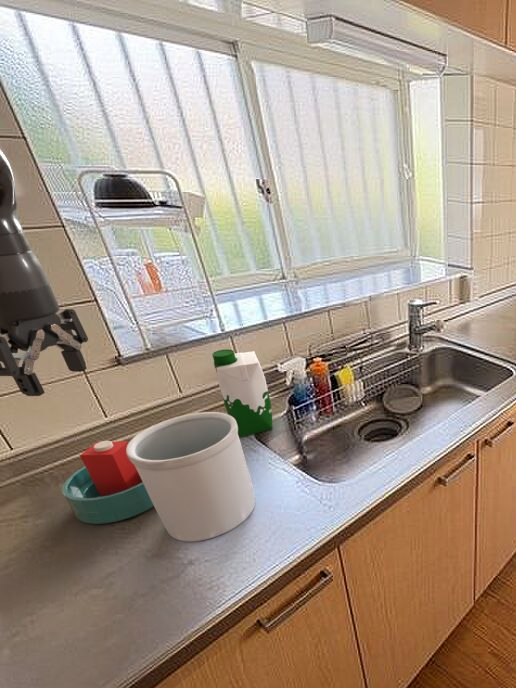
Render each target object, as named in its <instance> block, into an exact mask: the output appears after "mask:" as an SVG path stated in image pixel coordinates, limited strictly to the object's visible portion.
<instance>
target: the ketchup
mask: <svg viewBox="0 0 516 688" xmlns="http://www.w3.org/2000/svg"><path fill="white" fill-rule="evenodd" d="M128 443H129V441H128V440H121V441H111V440H102V441H95V443H94V444H93V445H91V446H90V447H88V448H87V449H86V450H85V451H83V452H81V453H80V455H79V456H80V459H81V461H82V463H83V465H84V467H85V466H86V468H87V470H88V472H89V474H90V476H91V478H92V480H93V482H94V484H95V486H96V488H97V490H98V492H99V494H100V495H101V497H103V496H108V495H112V494H115V493H119V492H122V491H125V490H127V489H129V488H132V487H134V486H136V485H138V484H140V483H142V480H141V477H140V475H139V473H138V471H137V469H136V467H135V465H134V464H133V463H132V462H131V461H130V460H129V458H128V456H127V453H126V448H127V445H128Z"/></svg>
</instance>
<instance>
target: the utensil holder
mask: <svg viewBox="0 0 516 688" xmlns="http://www.w3.org/2000/svg"><path fill="white" fill-rule="evenodd" d="M126 453H127V456H128V458H129V460H130V461H131V462H132V463H133V464H134V465H135V467H136V469H137V471H138V473H139V475H140V477H141V480H142V482H143V484H144V486H145V488H146V490H147V492H148V494H149V497H150V499H151V501H152V503H153V505H154V506H153V507H154V509H155V511H156V513H157V515H158V517H159V519H160V521H161V522H162V524H163V527H164V528H165V530H166V532H167V533H168V535H169V536H170V537H171V538H173V539H174V540H177V541H181V542H200V541H206V540H210V539H213V538H215V537H218V536H221V535H224V534H226V533H227V532H230V531H232V530H233V529H234V528H236V527H237V526H239V525H240V524H242V523H243V522H244V521H245V520H246V519H247V518H248V517H249V516H250V515H251V514H252V513H253V511H254V508H255V506H256V497H255V491H254V488H253V482H252V479H251V475H250V471H249V468H248V465H247V462H246V458H245V457H246V456H245V455H244V451H243V447H242V443H241V440H240V437H239V436H238V426H237V423H236V420H235V419H234V418H233V417H232V416H230V415H228V413H224V412H217V411H204V412H195V413H190V414H183V415H179V416H176V417H172V418H169V419H165V420H163V421H161V422H158V423H156V424H153V425H151V426H150V427H147V428H145V429H143V430H141V431H140V432H138V433H136V435H135V436H134V437H132V438H131V439H130V441H128V445H127V448H126Z"/></svg>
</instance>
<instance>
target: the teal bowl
mask: <svg viewBox="0 0 516 688" xmlns="http://www.w3.org/2000/svg"><path fill="white" fill-rule="evenodd" d="M62 485H63V486H62V490H61V492H62V494H63V496H64V498H65V499H66V502H67V503H68V506H70V508H71V510H72V512H73V513H74V515H75V517H76V519H77V520H79V521H81V522H82V523H85V524H90V525H91V524H92V525H93V524H94V525H100V524H101V525H102V524H109V523H114V522H119V521H123V520H127V519H130V518H132V517H136V516H138V515H141V513H144V512H146V511H148V510H150V509H151V508H153V507H154V505H153V503H152V501H151V499H150V497H149V494H148V492H147V490H146V488H145V486H144V484H143V482H142V483H140V484H138V485H136V486H134V487H132V488H129V489H127V490H125V491H122V492H119V493H115V494H112V495H108V496H103V497H101V495H100V494H99V492H98V490H97V488H96V486H95V484H94V482H93V480H92V478H91V476H90V474H89V472H88V470H87V468H86V466H85V465H84V466H83V467H82V468H80V469H78V470H76V471H75V472H74V473H72V474H71V475H70V476H69V477H67V479H66V480H65V482H64V483H63V484H62Z"/></svg>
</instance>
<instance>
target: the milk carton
mask: <svg viewBox="0 0 516 688" xmlns="http://www.w3.org/2000/svg"><path fill="white" fill-rule="evenodd" d="M212 357H213V366H214V368H215V372H216V374H217V382H218V385H219V386H218V387H219V390H220V393H221V396H222V400H223V403H224V407H225V410H226V414H228V415H230V416H232V417H233V418H234V419H235V420H236V423H237V426H238V436H239V438H242V437H247V436H251V435H255V434H260V433H264V432H268V431H271V430H273V410H272V401H271V397H270V392H269V388H268V385H267V381H266V376H265V374H264V371H263V368H262V366H261V364H260V361H259V359H258V356H257V354H256V352H255V350H253V351H252V350H251V351H247V352H246V351H245V352H236V353H235V351H234V350H233V349H228V348H227V349H219V350H216V351H214V352H213V353H212Z"/></svg>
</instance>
